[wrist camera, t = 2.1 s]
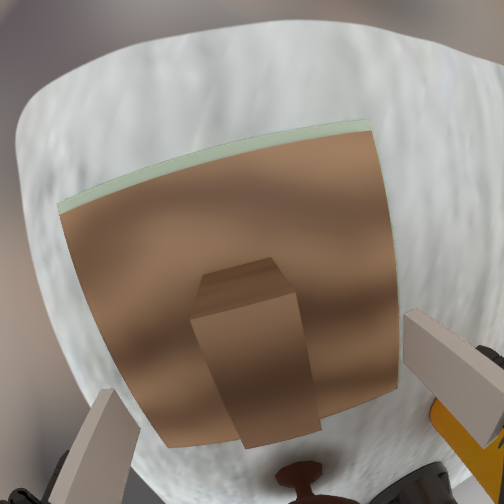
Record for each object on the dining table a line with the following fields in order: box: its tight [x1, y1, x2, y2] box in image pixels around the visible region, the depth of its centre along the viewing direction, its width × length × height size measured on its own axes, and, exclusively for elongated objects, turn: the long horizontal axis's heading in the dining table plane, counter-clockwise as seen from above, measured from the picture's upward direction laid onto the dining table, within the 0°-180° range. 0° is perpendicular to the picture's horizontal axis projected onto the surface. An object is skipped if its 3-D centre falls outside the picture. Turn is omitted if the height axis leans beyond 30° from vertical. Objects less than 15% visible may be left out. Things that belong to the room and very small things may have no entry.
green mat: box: [57, 119, 400, 382], centre depth 19 cm, size 22×22×1 cm
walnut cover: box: [59, 130, 399, 449], centre depth 15 cm, size 20×20×8 cm
